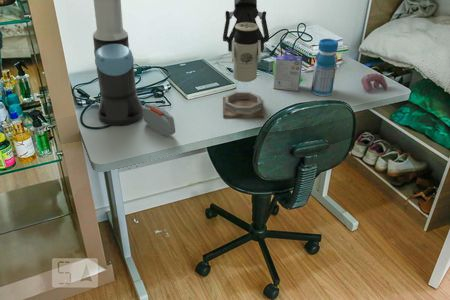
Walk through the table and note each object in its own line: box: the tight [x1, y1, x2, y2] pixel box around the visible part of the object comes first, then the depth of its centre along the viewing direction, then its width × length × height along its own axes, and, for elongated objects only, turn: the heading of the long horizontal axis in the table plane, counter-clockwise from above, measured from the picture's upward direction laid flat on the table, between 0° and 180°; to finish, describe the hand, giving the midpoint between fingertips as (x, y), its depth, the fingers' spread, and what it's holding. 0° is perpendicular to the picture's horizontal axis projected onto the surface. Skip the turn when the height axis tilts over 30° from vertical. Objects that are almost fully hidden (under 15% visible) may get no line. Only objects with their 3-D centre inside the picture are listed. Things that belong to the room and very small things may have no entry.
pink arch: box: [360, 73, 388, 93], centre depth 173 cm, size 10×5×7 cm, turn 110°
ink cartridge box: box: [273, 49, 303, 92], centre depth 170 cm, size 10×6×14 cm, turn 78°
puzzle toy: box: [272, 58, 276, 77], centre depth 182 cm, size 6×6×6 cm
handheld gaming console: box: [142, 103, 176, 137], centre depth 142 cm, size 14×3×8 cm, turn 45°
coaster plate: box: [222, 91, 265, 119], centre depth 158 cm, size 14×14×4 cm
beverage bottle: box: [310, 38, 339, 97], centre depth 165 cm, size 8×8×20 cm
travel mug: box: [232, 22, 259, 83], centre depth 147 cm, size 8×8×18 cm
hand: (246, 60), depth 145 cm, fingers closed on travel mug, 8 cm apart
